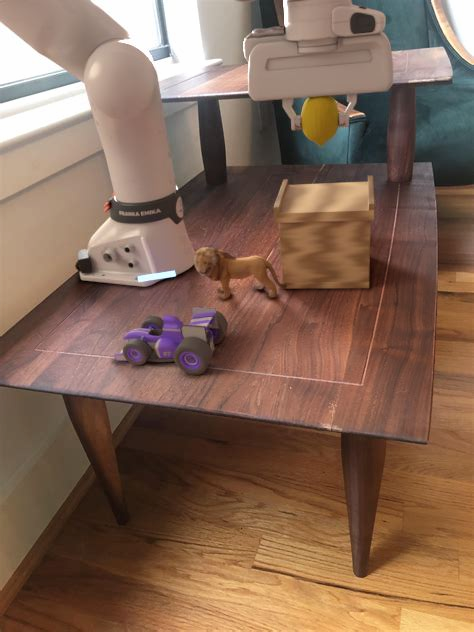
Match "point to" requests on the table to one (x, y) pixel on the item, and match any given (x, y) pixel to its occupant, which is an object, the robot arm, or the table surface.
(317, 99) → the lemon
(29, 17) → the robot arm
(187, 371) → the toy race car
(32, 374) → the table surface
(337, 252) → the wooden crate box
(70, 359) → the table surface
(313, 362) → the table surface
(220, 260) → the lion figurine
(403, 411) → the table surface
